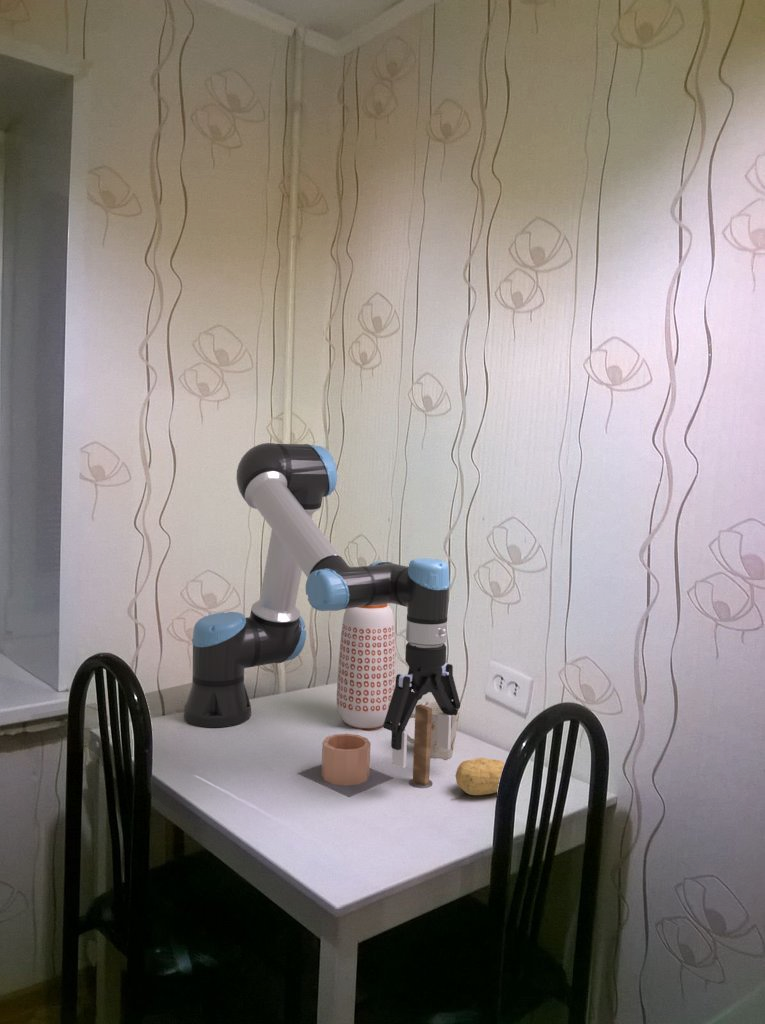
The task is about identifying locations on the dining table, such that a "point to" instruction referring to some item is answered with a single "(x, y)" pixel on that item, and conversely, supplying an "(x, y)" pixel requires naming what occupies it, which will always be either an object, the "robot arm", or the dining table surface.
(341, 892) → the dining table surface
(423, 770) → the long wooden stick
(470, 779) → the potato
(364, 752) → the jar
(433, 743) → the mug
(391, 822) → the dining table surface
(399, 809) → the dining table surface
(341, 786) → the mat
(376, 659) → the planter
